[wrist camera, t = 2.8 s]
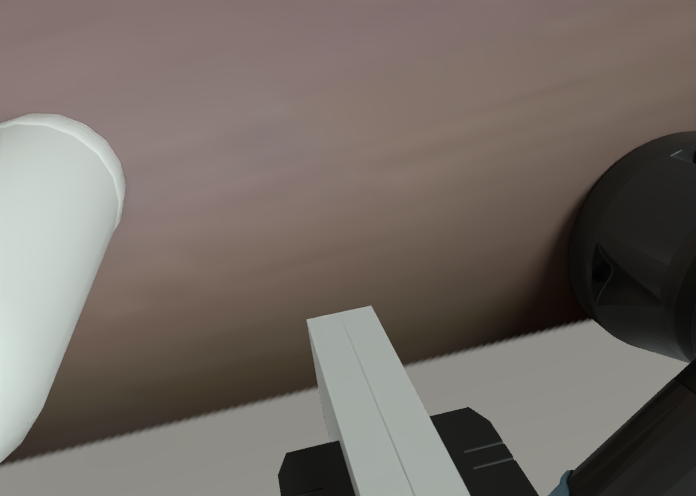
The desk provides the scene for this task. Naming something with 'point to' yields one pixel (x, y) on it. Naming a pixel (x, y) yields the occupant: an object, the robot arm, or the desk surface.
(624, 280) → the robot arm
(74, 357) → the desk surface
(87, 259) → the bottle
